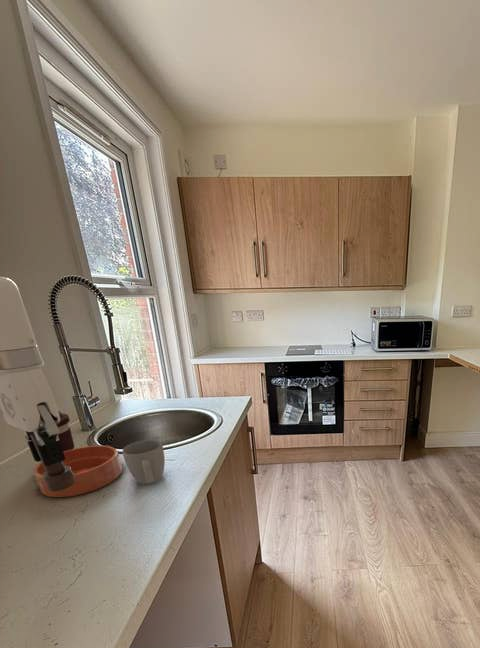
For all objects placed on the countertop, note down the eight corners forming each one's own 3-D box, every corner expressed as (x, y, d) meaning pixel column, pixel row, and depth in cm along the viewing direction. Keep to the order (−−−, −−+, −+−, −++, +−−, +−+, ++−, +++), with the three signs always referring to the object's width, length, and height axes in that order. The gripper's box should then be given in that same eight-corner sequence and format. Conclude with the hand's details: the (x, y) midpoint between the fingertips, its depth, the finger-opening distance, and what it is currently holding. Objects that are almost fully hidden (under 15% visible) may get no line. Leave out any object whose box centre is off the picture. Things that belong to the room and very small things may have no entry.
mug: (130, 477, 90) (121, 444, 86) (167, 469, 94) (159, 436, 90) (133, 500, 80) (122, 463, 77) (173, 489, 84) (165, 454, 81)
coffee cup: (49, 475, 92) (29, 423, 86) (33, 466, 97) (14, 416, 91) (89, 460, 100) (73, 411, 94) (72, 453, 105) (56, 405, 99)
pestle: (53, 494, 63) (28, 439, 58) (44, 486, 65) (20, 434, 61) (79, 483, 66) (58, 430, 62) (70, 476, 69) (49, 425, 64)
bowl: (64, 507, 78) (55, 484, 76) (29, 488, 87) (20, 466, 84) (136, 473, 92) (131, 453, 90) (100, 459, 100) (94, 440, 98)
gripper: (-37, 360, 57) (6, 459, 64) (5, 368, 49) (48, 480, 57) (18, 352, 63) (52, 444, 70) (63, 359, 55) (96, 461, 62)
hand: (50, 459), depth 63 cm, fingers closed on pestle, 2 cm apart
